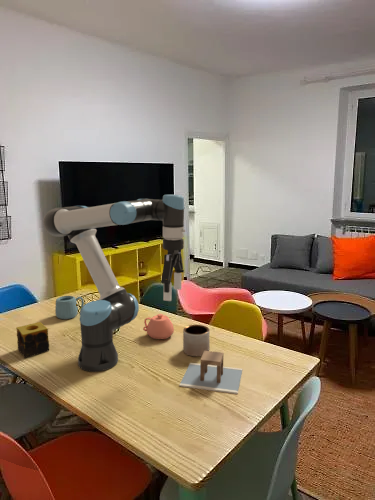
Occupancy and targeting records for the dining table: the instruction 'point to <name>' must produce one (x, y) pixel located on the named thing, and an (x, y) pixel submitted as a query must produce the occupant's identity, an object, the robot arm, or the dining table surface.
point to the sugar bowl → (159, 327)
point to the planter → (196, 340)
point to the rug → (212, 378)
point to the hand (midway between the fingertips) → (172, 294)
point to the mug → (67, 307)
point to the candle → (32, 339)
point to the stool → (211, 363)
